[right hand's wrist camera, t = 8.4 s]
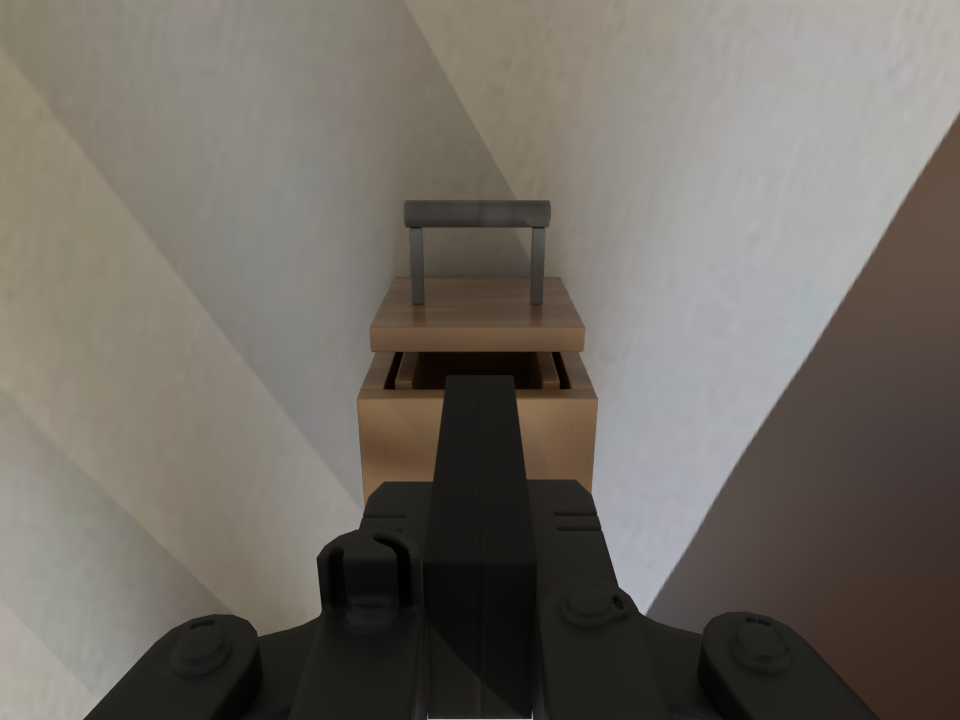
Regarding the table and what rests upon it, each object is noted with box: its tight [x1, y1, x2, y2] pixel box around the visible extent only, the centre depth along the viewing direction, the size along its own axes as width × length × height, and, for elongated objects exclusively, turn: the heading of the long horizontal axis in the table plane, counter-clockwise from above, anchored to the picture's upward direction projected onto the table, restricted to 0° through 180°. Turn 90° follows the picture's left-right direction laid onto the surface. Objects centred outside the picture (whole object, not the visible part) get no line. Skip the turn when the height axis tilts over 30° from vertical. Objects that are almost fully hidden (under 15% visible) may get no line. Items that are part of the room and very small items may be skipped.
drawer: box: [370, 200, 585, 390], centre depth 36 cm, size 22×10×10 cm, turn 0°
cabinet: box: [357, 352, 598, 507], centre depth 38 cm, size 18×11×12 cm, turn 0°
